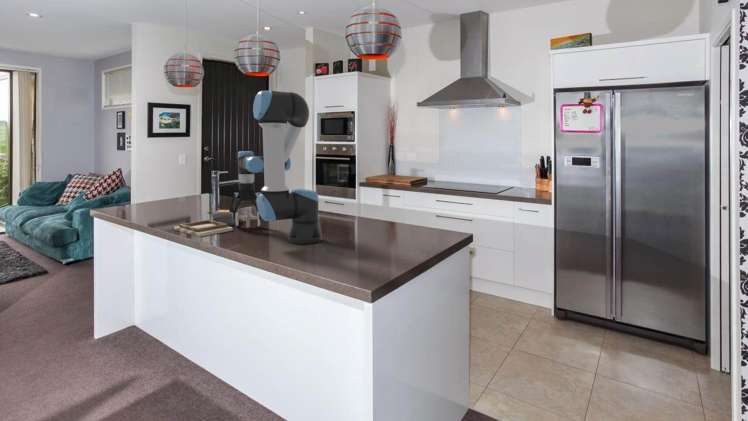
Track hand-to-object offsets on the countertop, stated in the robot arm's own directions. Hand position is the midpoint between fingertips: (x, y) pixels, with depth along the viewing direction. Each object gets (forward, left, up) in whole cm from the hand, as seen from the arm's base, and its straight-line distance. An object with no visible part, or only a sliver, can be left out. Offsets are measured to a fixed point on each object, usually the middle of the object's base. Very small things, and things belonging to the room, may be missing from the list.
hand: (248, 225), depth 227 cm
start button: (+11, +14, +3) cm, 18 cm away
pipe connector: (0, 0, -1) cm, 1 cm away
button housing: (+11, +14, -1) cm, 18 cm away
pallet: (-7, +20, -1) cm, 21 cm away
